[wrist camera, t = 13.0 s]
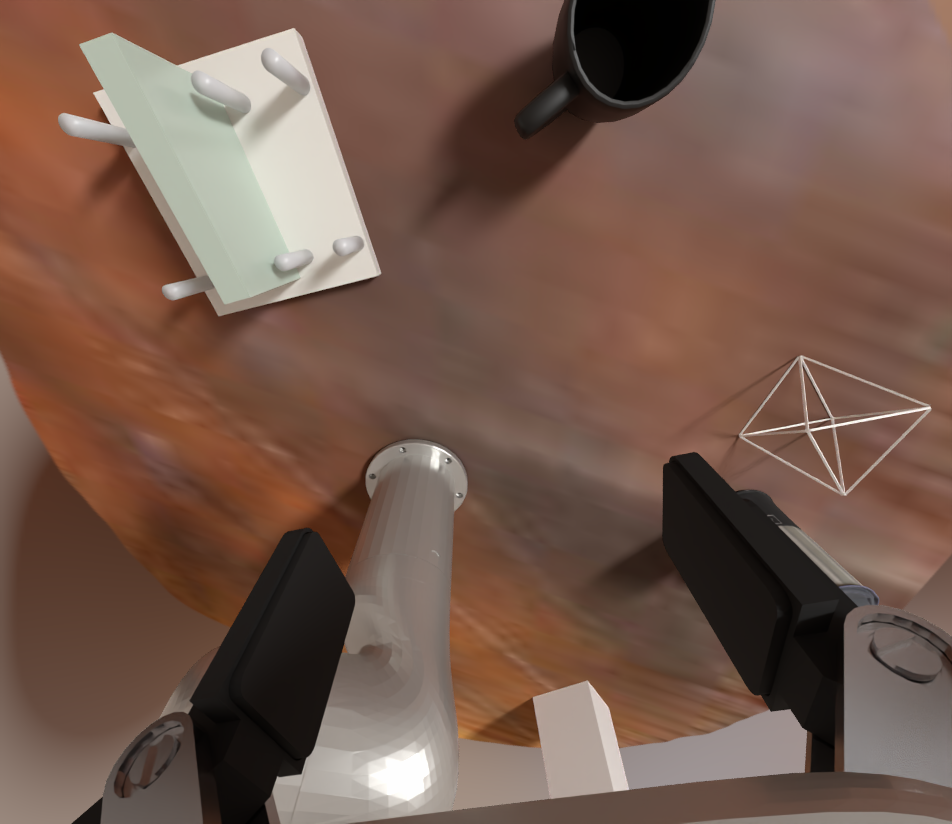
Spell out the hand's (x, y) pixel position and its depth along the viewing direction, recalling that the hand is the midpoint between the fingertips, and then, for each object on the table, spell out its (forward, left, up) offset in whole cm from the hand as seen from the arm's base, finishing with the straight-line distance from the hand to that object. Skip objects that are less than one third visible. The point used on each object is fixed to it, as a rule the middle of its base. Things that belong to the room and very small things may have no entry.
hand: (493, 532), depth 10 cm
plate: (+13, +16, -29) cm, 35 cm away
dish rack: (+13, +16, -30) cm, 37 cm away
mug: (+14, -11, -31) cm, 35 cm away
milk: (-81, -1, -31) cm, 87 cm away
